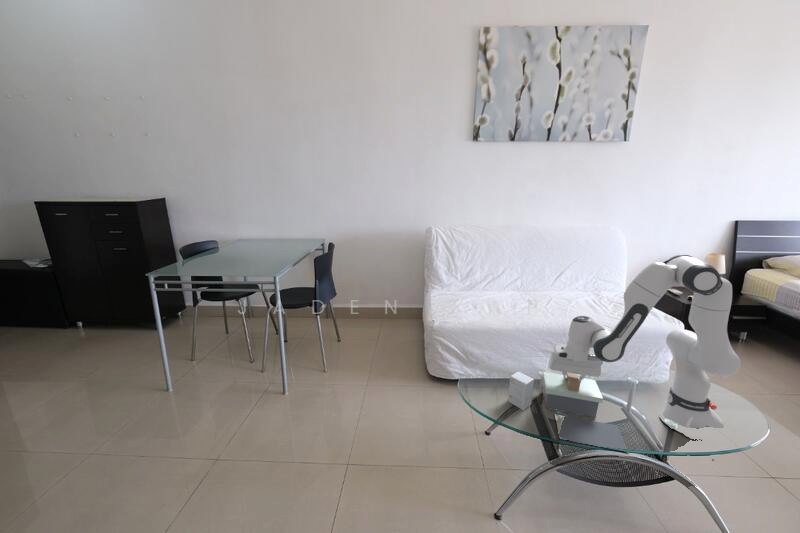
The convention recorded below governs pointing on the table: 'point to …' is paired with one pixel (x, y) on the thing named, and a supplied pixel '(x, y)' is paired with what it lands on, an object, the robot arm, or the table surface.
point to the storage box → (570, 404)
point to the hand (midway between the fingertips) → (571, 381)
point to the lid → (572, 387)
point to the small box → (520, 390)
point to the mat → (591, 433)
